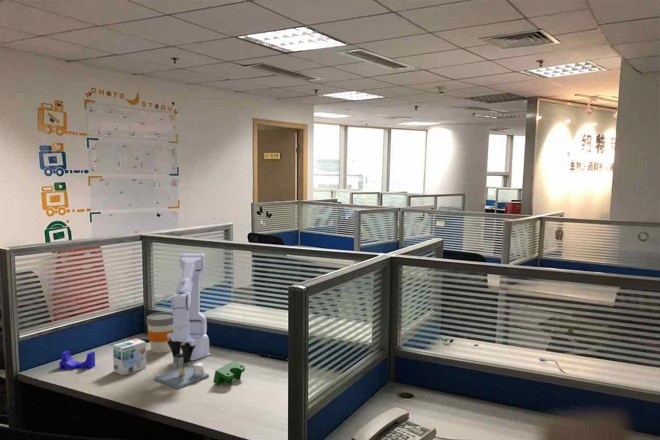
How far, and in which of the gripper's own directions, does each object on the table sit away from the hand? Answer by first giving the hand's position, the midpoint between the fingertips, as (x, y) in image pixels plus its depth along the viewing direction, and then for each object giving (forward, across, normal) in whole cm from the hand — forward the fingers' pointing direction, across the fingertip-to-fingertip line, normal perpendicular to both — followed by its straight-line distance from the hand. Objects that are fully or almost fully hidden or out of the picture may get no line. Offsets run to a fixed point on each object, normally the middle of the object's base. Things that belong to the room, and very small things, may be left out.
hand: (181, 360), depth 196 cm
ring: (+2, 0, 0) cm, 2 cm away
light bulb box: (+7, -23, -7) cm, 25 cm away
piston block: (+7, 0, 0) cm, 7 cm away
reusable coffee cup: (+7, -33, +15) cm, 37 cm away
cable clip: (+7, -41, -18) cm, 46 cm away
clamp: (+7, +16, +9) cm, 20 cm away
